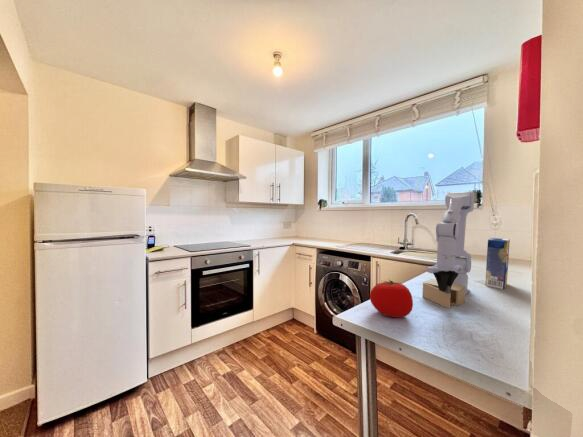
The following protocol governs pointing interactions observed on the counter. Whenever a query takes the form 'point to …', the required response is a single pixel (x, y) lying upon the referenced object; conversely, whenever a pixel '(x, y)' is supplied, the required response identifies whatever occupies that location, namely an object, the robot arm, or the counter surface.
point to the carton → (456, 292)
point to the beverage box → (497, 262)
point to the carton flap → (437, 295)
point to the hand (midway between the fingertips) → (444, 290)
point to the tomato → (392, 299)
